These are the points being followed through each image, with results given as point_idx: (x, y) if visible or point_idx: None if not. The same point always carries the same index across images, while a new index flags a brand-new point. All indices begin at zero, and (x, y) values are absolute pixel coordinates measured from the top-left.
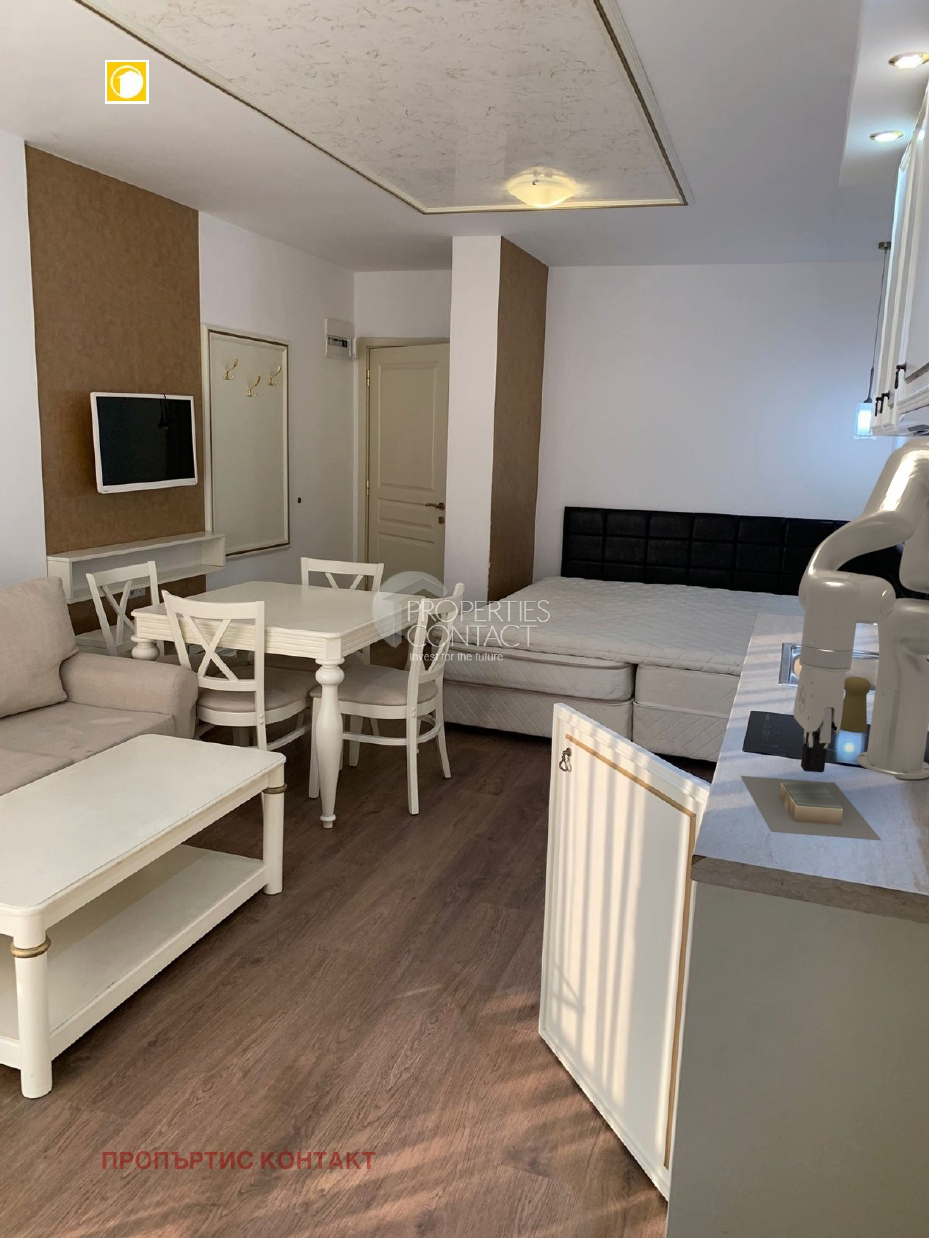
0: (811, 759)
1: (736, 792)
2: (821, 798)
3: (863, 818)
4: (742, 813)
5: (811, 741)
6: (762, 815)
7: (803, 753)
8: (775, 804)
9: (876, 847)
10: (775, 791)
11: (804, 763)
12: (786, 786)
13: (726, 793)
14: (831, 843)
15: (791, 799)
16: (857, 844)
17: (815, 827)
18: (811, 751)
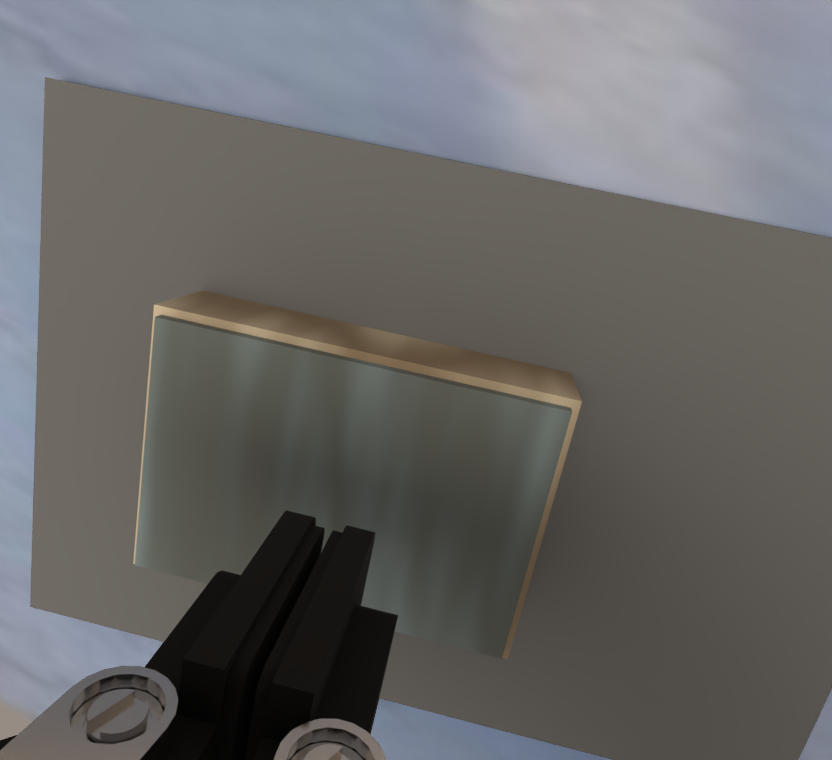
0: (189, 612)
1: (745, 136)
2: (265, 522)
3: None
4: (371, 28)
5: (15, 754)
6: (275, 124)
7: (305, 608)
8: (453, 293)
9: (4, 555)
10: (673, 395)
11: (263, 542)
12: (477, 396)
13: (735, 47)
14: (11, 375)
15: (271, 330)
16: (21, 491)
17: (132, 370)
18: (162, 671)
